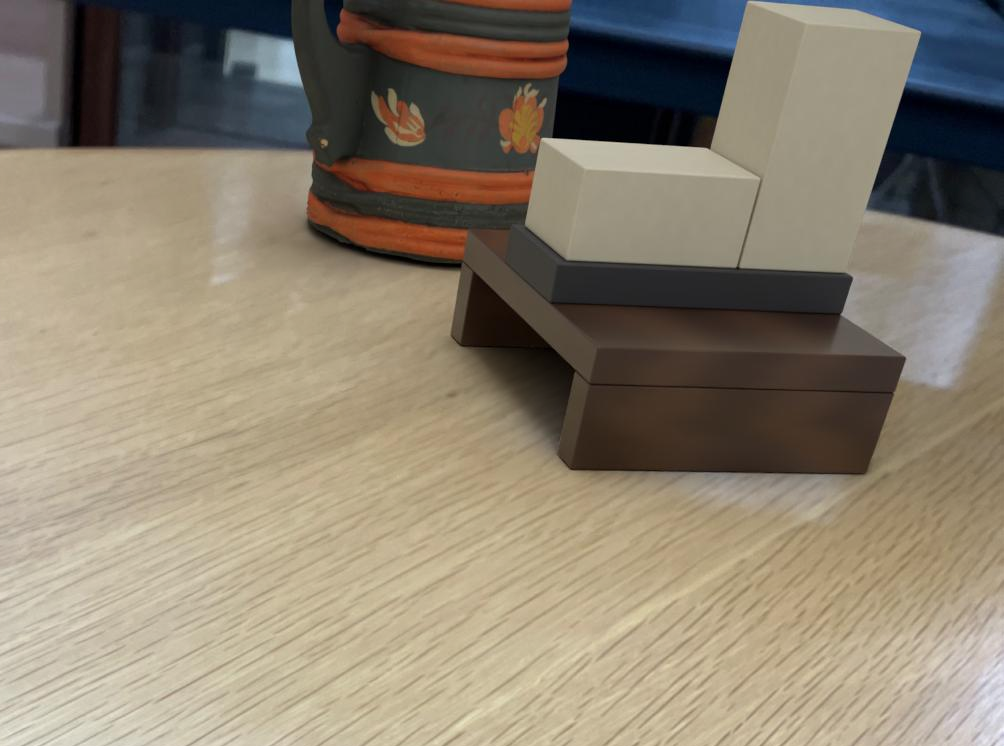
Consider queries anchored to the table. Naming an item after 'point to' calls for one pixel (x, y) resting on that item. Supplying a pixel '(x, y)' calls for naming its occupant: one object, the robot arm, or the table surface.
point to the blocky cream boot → (730, 180)
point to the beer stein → (427, 117)
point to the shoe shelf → (690, 376)
